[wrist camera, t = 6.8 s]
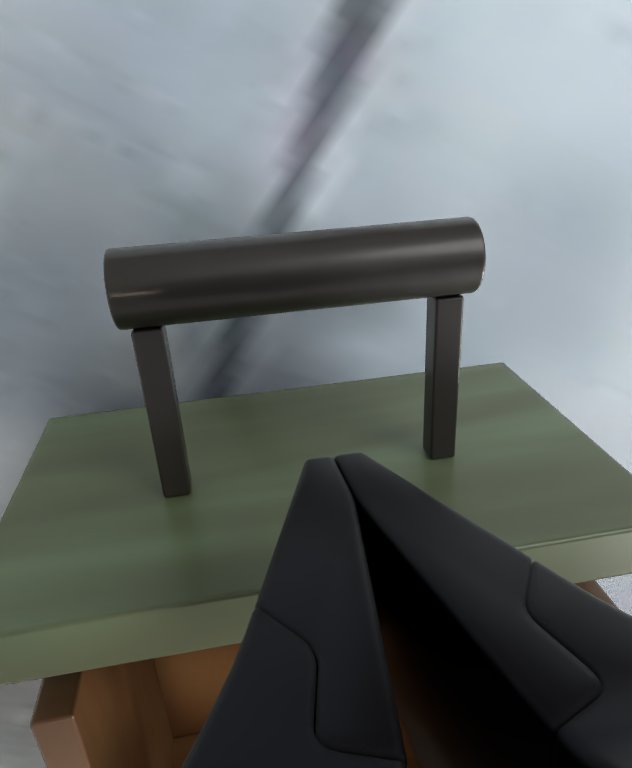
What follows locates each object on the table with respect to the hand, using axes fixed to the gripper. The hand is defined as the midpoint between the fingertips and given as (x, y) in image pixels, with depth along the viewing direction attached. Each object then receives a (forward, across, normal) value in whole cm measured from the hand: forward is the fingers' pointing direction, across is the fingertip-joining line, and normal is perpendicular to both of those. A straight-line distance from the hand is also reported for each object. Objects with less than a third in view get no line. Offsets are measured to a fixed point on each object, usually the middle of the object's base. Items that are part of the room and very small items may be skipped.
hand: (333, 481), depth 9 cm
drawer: (+8, 0, +7) cm, 11 cm away
